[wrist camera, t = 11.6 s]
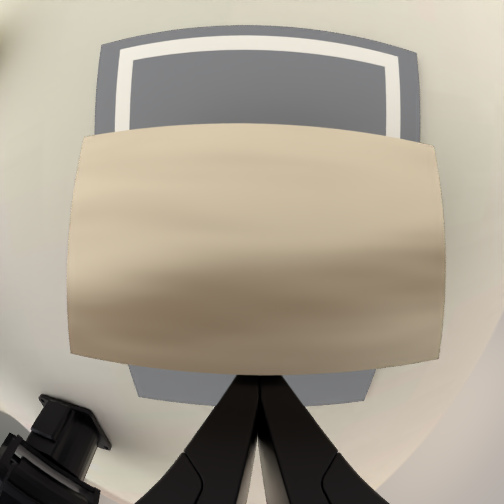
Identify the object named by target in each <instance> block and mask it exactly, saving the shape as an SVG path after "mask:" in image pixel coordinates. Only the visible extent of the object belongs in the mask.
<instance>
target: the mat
mask: <svg viewBox="0 0 504 504" xmlns="http://www.w3.org/2000/svg"><path fill="white" fill-rule="evenodd" d="M221 123H252V124H282V125H298V126H311V127H322V128H332V129H341V130H349V131H357V132H364V133H370V134H376V135H383V136H388V137H394V138H399V139H404V140H409V141H414V142H419V143H420V94H419V76H418V64H417V54H416V53H415V52H412V51H409V50H405V49H402V48H399V47H396V46H392V45H388V44H385V43H381V42H377V41H373V40H369V39H365V38H360V37H355V36H350V35H345V34H340V33H334V32H327V31H320V30H313V29H304V28H294V27H281V26H258V25H233V26H210V27H197V28H187V29H179V30H171V31H164V32H158V33H152V34H147V35H141V36H136V37H132V38H127V39H123V40H119V41H115V42H111V43H107V44H103V45H101V52H100V59H99V68H98V78H97V89H96V105H95V135H98V134H104V133H111V132H118V131H125V130H133V129H142V128H151V127H162V126H175V125H192V124H221ZM128 366H129V369H130V372H131V375H132V378H133V381H134V384H135V387H136V390H137V393H138V396H139V397H143V398H149V399H156V400H163V401H170V402H179V403H188V404H198V405H211V406H216V405H217V403H218V402H219V400H220V399H221V397H222V396H223V394H224V393H225V391H226V390H227V388H228V387H229V385H230V384H231V383H232V381H233V380H234V378H235V377H236V375H233V374H213V373H198V372H186V371H175V370H166V369H158V368H150V367H142V366H135V365H129V364H128ZM375 370H376V369H370V370H361V371H351V372H339V373H324V374H304V375H282V376H283V377H284V379H285V380H286V382H287V383H288V384H289V386H290V387H291V389H292V390H293V391H294V393H295V394H296V395H297V397H298V398H299V400H300V401H301V402H302V404H303V405H304V406H317V405H330V404H340V403H349V402H358V401H364V399H365V397H366V394H367V392H368V389H369V386H370V384H371V381H372V379H373V376H374V373H375Z"/></svg>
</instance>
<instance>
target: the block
mask: <svg viewBox="0 0 504 504" xmlns="http://www.w3.org/2000/svg"><path fill="white" fill-rule="evenodd" d="M445 273H446V260H445V231H444V216H443V205H442V196H441V187H440V180H439V173H438V167H437V161H436V155H435V150H434V146H432V145H427V144H423V143H419V142H414V141H409V140H404V139H399V138H394V137H388V136H383V135H376V134H370V133H364V132H357V131H349V130H341V129H332V128H322V127H311V126H298V125H282V124H252V123H221V124H192V125H175V126H162V127H151V128H142V129H133V130H125V131H118V132H111V133H104V134H98V135H92V136H87V137H84V139H83V144H82V148H81V153H80V158H79V163H78V168H77V174H76V179H75V186H74V192H73V200H72V208H71V216H70V227H69V239H68V257H67V312H68V330H69V342H70V352H71V353H72V354H76V355H80V356H85V357H90V358H95V359H100V360H105V361H111V362H116V363H122V364H129V365H135V366H142V367H150V368H158V369H166V370H175V371H186V372H198V373H213V374H233V375H304V374H324V373H339V372H351V371H361V370H370V369H379V368H386V367H394V366H401V365H407V364H413V363H419V362H424V361H430V360H435V359H439V352H440V345H441V337H442V327H443V316H444V302H445Z"/></svg>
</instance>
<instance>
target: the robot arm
mask: <svg viewBox="0 0 504 504" xmlns="http://www.w3.org/2000/svg"><path fill="white" fill-rule="evenodd" d="M39 400H40V402H41V403H42V405H43V407H44V408H43V409H42V411H41V412H40V414H39V416H38V417H37V419H36V420H35V422H34V424H33V425H32V427H31V430H32V431H31V433H30V435H29V436H28V438H27V440H26V441H24V440H23V438H22V437H21V436H20V435H17V437H16V436H15V435H13V434H11V433H9V434H8V436H7V438H6V439H5V441H4V443H3V444H2V446H1V447H0V504H98V503H99V496H100V490H99V489H97V488H95V487H92V486H90V485H88V484H87V483H85V482H83V481H84V478H85V476H86V474H87V471H88V469H89V466H90V464H91V461H92V459H93V456H94V454H95V452H96V449H97V447H99V448H102V449H106V450H111V447H112V446H111V444H110V443H109V441H108V440H107V438H106V436H105V435H104V433H103V431H102V430H101V428H100V426H99V425H98V423H97V421H96V419H95V418H94V416H93V414H92V413H91V412H90V411H89V410H87V409H83V408H80V407H77V406H73V405H70V404H67V403H64V402H61V401H58V400H55V399H53V398H50V397H47V396H44V395H42V394H41V395H40V396H39ZM257 436H258V447H259V454H260V461H261V468H262V475H263V482H264V489H265V496H266V502H267V504H389V503H388V502H387V501H386V500H385V499H383V498H382V497H381V496H380V495H379V494H378V493H377V492H375V491H374V490H373V489H372V488H371V487H370V486H369V485H368V484H367V483H366V482H365V481H364V480H363V479H362V478H361V477H360V476H359V475H358V474H357V473H356V472H355V470H354V469H353V468H352V467H351V466H350V465H349V463H348V462H347V461H346V460H345V458H344V457H343V456H342V455H341V453H337V452H338V450H337V448H336V447H335V446H334V445H333V443H332V442H331V441H330V439H329V438H328V437H327V436H326V434H325V433H324V432H323V430H322V429H321V428H320V426H319V425H318V424H317V422H316V421H315V420H314V418H313V417H312V416H311V414H310V413H309V412H308V410H307V409H306V408H305V406H304V405H303V404H302V402H301V401H300V400H299V398H298V397H297V395H296V394H295V393H294V391H293V390H292V389H291V387H290V386H289V384H288V383H287V382H286V380H285V379H284V377H283V376H282V375H236V377H235V378H234V380H233V381H232V383H231V384H230V385H229V387H228V388H227V390H226V391H225V393H224V394H223V396H222V397H221V399H220V400H219V402H218V403H217V405H216V406H215V407H214V409H213V410H212V412H211V413H210V415H209V416H208V417H207V419H206V420H205V422H204V423H203V425H202V426H201V427H200V429H199V430H198V431H197V433H196V434H195V436H194V437H193V438H192V440H191V441H190V443H189V444H188V445H187V447H186V448H185V449H184V453H181V454H180V456H179V457H178V458H177V460H176V461H175V462H174V464H173V465H172V466H171V467H170V469H169V470H168V471H167V472H166V473H165V475H164V476H163V477H162V478H161V479H160V480H159V481H158V482H157V483H156V484H155V485H154V486H153V487H152V488H151V489H150V490H149V491H148V492H147V493H146V494H145V495H144V496H143V497H141V498H140V499H139V500H138V501H137V502H136V503H135V504H246V503H247V497H248V492H249V486H250V480H251V474H252V469H253V463H254V457H255V451H256V444H257ZM15 451H16V452H17V453H19V454H20V455H21V456H22V457H21V459H20V458H19V457H18V456H17V455H15V454H14V453H15Z"/></svg>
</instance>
